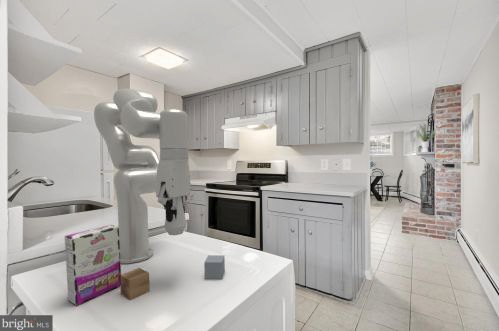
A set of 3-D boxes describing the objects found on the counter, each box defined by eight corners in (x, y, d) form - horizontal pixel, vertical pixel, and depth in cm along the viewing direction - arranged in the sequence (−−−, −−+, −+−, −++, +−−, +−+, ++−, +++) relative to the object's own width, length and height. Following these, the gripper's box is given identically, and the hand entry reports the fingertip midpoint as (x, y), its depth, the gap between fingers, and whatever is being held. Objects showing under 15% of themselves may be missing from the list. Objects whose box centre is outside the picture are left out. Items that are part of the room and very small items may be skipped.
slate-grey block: (204, 279, 69) (204, 262, 69) (208, 271, 74) (208, 255, 74) (222, 279, 68) (221, 262, 68) (224, 271, 73) (224, 255, 73)
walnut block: (121, 294, 62) (120, 274, 62) (139, 285, 66) (139, 267, 66) (130, 300, 59) (130, 280, 59) (149, 291, 63) (149, 272, 63)
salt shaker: (180, 237, 63) (179, 187, 63) (160, 235, 64) (159, 187, 64) (189, 230, 69) (189, 185, 69) (171, 229, 70) (170, 185, 70)
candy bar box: (112, 281, 69) (110, 224, 68) (122, 285, 66) (120, 226, 66) (66, 300, 59) (63, 234, 59) (75, 307, 57) (73, 238, 56)
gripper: (179, 156, 75) (180, 214, 76) (141, 155, 59) (143, 229, 60) (201, 155, 73) (202, 216, 73) (167, 155, 57) (168, 232, 58)
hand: (175, 221), depth 67 cm, fingers closed on salt shaker, 3 cm apart
